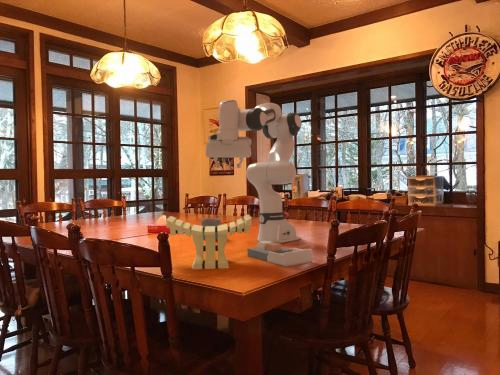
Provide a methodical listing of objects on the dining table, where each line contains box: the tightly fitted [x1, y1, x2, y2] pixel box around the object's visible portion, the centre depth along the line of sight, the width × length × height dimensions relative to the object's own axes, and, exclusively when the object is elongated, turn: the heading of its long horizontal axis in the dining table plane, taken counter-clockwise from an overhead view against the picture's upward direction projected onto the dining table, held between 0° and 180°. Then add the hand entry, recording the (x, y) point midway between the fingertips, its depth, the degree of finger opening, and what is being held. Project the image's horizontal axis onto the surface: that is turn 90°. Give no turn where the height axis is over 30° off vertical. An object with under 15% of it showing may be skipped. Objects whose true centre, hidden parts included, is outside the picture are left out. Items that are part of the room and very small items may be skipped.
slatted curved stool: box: [165, 214, 252, 270], centre depth 152 cm, size 30×16×18 cm, turn 95°
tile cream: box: [257, 241, 274, 250], centre depth 167 cm, size 4×4×2 cm
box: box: [266, 247, 313, 268], centre depth 154 cm, size 13×11×5 cm
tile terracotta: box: [266, 242, 283, 252], centre depth 162 cm, size 4×4×2 cm
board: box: [247, 246, 293, 262], centre depth 164 cm, size 13×13×3 cm
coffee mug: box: [200, 217, 222, 241], centre depth 213 cm, size 13×10×10 cm
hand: (228, 167), depth 181 cm, fingers open, 8 cm apart
